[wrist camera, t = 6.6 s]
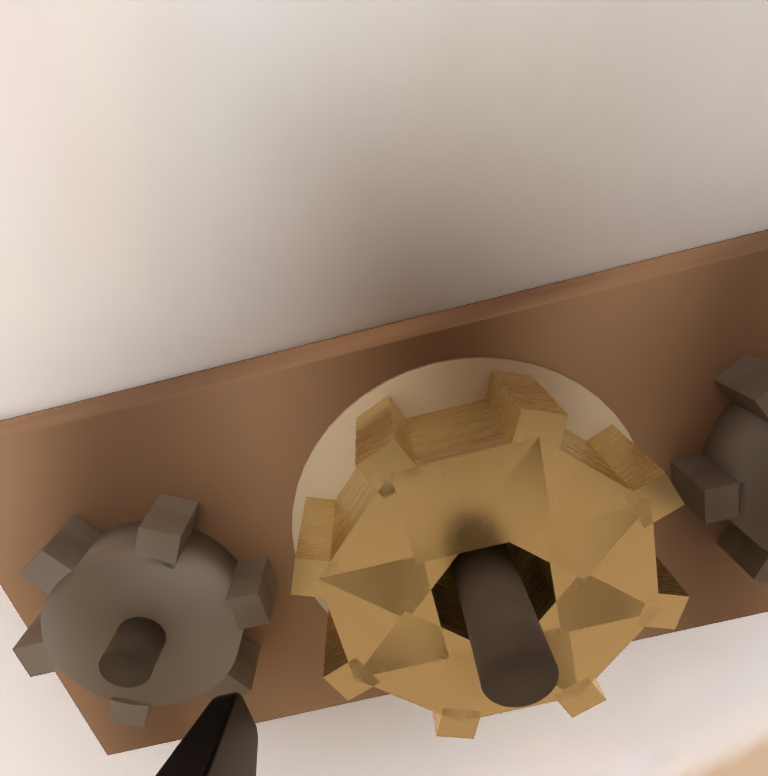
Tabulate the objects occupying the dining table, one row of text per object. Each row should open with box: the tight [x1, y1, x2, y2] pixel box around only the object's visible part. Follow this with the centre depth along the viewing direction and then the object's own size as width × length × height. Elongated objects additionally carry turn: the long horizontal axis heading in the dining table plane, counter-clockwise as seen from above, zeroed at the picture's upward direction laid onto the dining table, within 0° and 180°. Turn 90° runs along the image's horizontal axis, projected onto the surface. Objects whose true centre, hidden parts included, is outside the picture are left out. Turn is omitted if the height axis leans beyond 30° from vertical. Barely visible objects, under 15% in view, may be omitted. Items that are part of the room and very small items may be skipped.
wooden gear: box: [291, 370, 689, 739], centre depth 11 cm, size 7×7×2 cm
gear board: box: [0, 230, 768, 755], centre depth 11 cm, size 21×9×6 cm, turn 104°
